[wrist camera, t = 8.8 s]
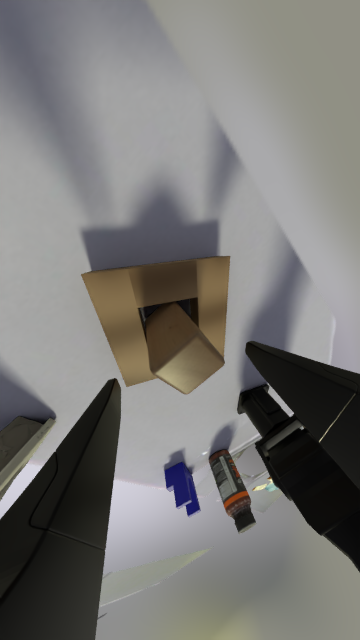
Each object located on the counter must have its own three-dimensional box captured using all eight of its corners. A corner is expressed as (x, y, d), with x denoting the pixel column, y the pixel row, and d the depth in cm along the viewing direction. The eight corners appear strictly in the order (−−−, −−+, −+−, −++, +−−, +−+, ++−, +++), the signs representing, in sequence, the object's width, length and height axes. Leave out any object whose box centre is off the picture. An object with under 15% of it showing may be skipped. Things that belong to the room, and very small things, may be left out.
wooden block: (170, 295, 15) (198, 330, 8) (191, 318, 17) (229, 364, 10) (143, 319, 15) (147, 374, 8) (166, 339, 17) (186, 398, 10)
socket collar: (214, 347, 20) (223, 358, 17) (128, 370, 17) (126, 386, 15) (216, 256, 14) (230, 256, 12) (91, 271, 12) (81, 274, 10)
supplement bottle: (231, 451, 38) (263, 520, 28) (214, 463, 38) (240, 535, 28) (223, 446, 35) (256, 521, 25) (204, 459, 35) (230, 538, 25)
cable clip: (164, 469, 32) (169, 511, 27) (182, 460, 32) (190, 500, 27) (177, 483, 38) (183, 520, 32) (192, 476, 38) (200, 511, 33)
